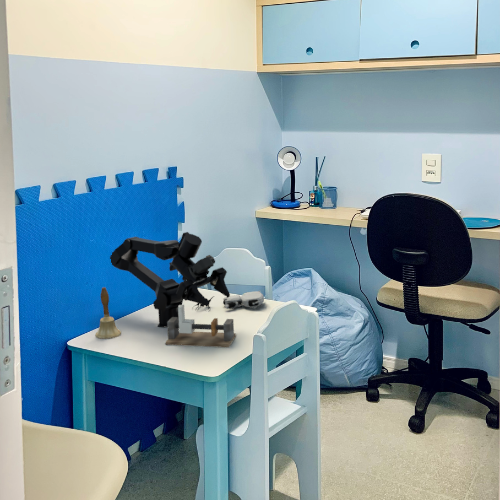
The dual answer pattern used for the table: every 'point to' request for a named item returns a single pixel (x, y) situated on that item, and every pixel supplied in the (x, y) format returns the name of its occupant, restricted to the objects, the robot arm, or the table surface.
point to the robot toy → (244, 300)
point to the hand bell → (107, 320)
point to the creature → (203, 305)
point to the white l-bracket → (184, 321)
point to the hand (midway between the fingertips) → (219, 300)
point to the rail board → (202, 334)
